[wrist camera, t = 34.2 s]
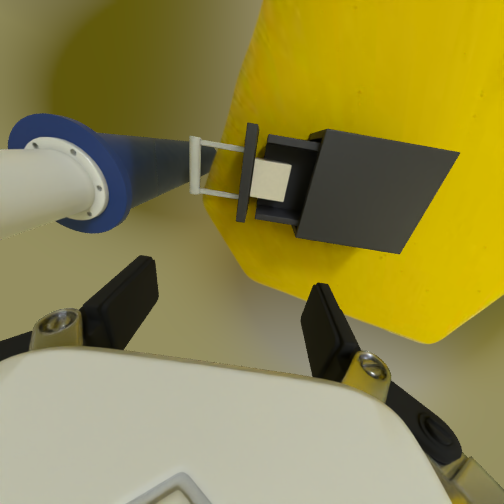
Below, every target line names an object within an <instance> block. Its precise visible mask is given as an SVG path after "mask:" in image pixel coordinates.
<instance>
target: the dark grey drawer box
mask: <svg viewBox="0 0 504 504" xmlns="http://www.w3.org/2000/svg"><path fill="white" fill-rule="evenodd" d="M308 141H311V142H317V143H321V145H320V148H319V152H318V155H317V159H316V162H315V166H314V170H313V173H312V177H311V180H310V184H309V187H308V191H307V194H306V198H305V201H304V205H303V209H302V212H301V216H300V219H299V223H298V226H295V225H291V226H292V229H293V231H294V234H295V237H296V238H302V239H308V240H314V241H320V242H327V243H333V244H339V245H345V246H352V247H358V248H364V249H370V250H376V251H383V252H389V253H395V254H400V253H401V251H402V250H403V248H404V246H405V245H406V243H407V241H408V240H409V238H410V236H411V235H412V233H413V231H414V230H415V228H416V226H417V225H418V223H419V221H420V220H421V218H422V216H423V214H424V213H425V211H426V209H427V208H428V206H429V204H430V203H431V201H432V199H433V198H434V196H435V194H436V193H437V191H438V189H439V188H440V186H441V184H442V183H443V181H444V179H445V178H446V176H447V174H448V173H449V171H450V169H451V168H452V166H453V164H454V163H455V161H456V159H457V158H458V156H459V154H460V152H455V151H449V150H444V149H438V148H432V147H427V146H421V145H415V144H410V143H404V142H399V141H393V140H387V139H382V138H376V137H370V136H365V135H359V134H354V133H348V132H342V131H337V130H331V129H325V130H322V131H318V132H315V133H312V134H310V137H309V140H308Z"/></svg>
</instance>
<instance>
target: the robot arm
mask: <svg viewBox="0 0 504 504" xmlns="http://www.w3.org/2000/svg"><path fill="white" fill-rule="evenodd" d="M108 201H109V191H108V185H107V182H106V179H105V177H104V175H103V173H102V171H101V170H100V168H99V167H98V165H97V164H96V162H95V161H94V160H93V159H92V158H91V157H90V156H89V155H88V154H87V153H86V152H85V151H83V150H82V149H81V148H79V147H78V146H76V145H75V144H73V143H71V142H69V141H66V140H64V139H60V138H55V137H39V138H36V139H33V140H32V141H30V142H29V143H28V144H27V145H26V147H25V148H24V149H0V240H2V239H5V238H8V237H11V236H14V235H17V234H20V233H22V232H25V231H28V230H31V229H33V228H37V227H40V226H42V225H45V224H48V223H51V222H54V221H57V220H59V219H62V218H65V217H68V218H71V219H75V220H89V219H92V218H94V217H97V216H99V215H100V214H101V213H102V212H103V211H104V210H105V209H106V207H107V204H108ZM158 294H159V293H158V284H157V274H156V265H155V260H153V259H152V257H149V256H142V255H140V256H138V257H137V258H136V259H135V260H134V261H133V262H132V263H130V264H129V265H128V266H127V267H126V268H125V269H124V270H122V271H121V272H120V273H119V274H118V275H117V276H115V277H114V278H113V279H112V280H111V281H110V282H109V283H108V284H106V285H105V286H104V287H103V288H102V289H101V290H99V291H98V292H97V293H96V294H95V295H94V296H92V297H91V298H90V299H89V300H88V301H87V302H86V303H84V304H83V307H81V308H80V309H79V310H78V309H74V308H65V309H60V310H57V311H54V312H51V313H49V314H47V315H45V316H44V317H43V318H41V319H39V320H38V322H37V323H36V324H35V326H34V327H33V331H30V332H27V333H24V334H21V335H18V336H15V337H12V338H9V339H6V340H3V341H0V504H504V489H503V488H502V487H501V486H500V485H499V484H498V483H497V482H496V481H495V480H494V479H493V478H492V477H491V476H490V475H489V474H488V473H487V472H486V471H485V470H484V469H483V468H482V467H481V466H480V465H479V464H478V463H477V462H476V461H475V460H474V459H473V458H472V457H469V458H468V457H467V456H466V455H464V453H463V452H462V449H461V446H460V443H459V441H458V439H457V437H456V435H455V434H454V432H453V431H452V430H451V429H450V428H449V426H448V425H447V424H446V423H445V422H444V421H443V420H441V419H440V418H439V417H438V416H437V415H435V414H434V413H433V412H431V411H430V410H429V409H428V408H426V407H425V406H423V405H422V404H421V403H420V402H419V401H417V400H416V399H415V398H413V397H412V396H411V395H409V394H408V393H407V392H406V391H404V390H403V389H402V388H400V387H399V386H398V385H396V384H395V383H394V382H392V381H391V373H390V370H389V368H388V367H387V365H386V364H385V363H384V362H383V361H382V360H381V359H380V358H379V357H377V356H376V355H374V354H373V353H371V352H368V351H361V349H360V347H359V345H358V343H357V341H356V339H355V336H354V335H353V332H352V330H351V328H350V326H349V324H348V322H347V320H346V318H345V316H344V314H343V312H342V310H341V309H340V308H339V306H338V304H337V302H336V300H335V298H334V295H333V293H332V291H331V289H330V287H329V285H328V284H324V283H317V284H316V285H313V287H312V290H311V292H310V295H309V298H308V300H307V303H306V305H305V308H304V311H303V313H302V316H301V326H302V330H303V335H304V339H305V343H306V349H307V353H308V358H309V363H310V367H311V371H312V376H313V377H309V376H303V375H297V374H291V373H284V372H277V371H270V370H264V369H257V368H250V367H243V366H236V365H228V364H221V363H215V362H208V361H201V360H193V359H186V358H179V357H172V356H164V355H156V354H149V353H141V352H135V351H127V350H124V348H125V347H126V345H127V344H128V343H129V341H130V340H131V338H132V337H133V335H134V334H135V332H136V331H137V329H138V328H139V327H140V325H141V324H142V322H143V321H144V319H145V318H146V316H147V315H148V314H149V312H150V311H151V309H152V307H153V306H154V305H155V304H156V302H157V300H158V297H159V295H158Z"/></svg>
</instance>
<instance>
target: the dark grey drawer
mask: <svg viewBox="0 0 504 504" xmlns="http://www.w3.org/2000/svg"><path fill="white" fill-rule="evenodd" d="M258 135H259V126H258V124H253V123H247V131H246V139H245V147H241V146H235V145H229V144H224V143H218V142H212V141H206V140H201V138H199V137H194V136H190V193H191V194H200V193H203V194H209V195H215V196H221V197H227V198H233V199H238V208H237V216H236V221H237V222H243V223H244V222H245V219H246V215H247V211H248V204H249V197H250V190H251V183H252V177H253V170H254V163H255V156H256V149H257V142H258ZM201 145H203V146H209V147H215V148H221V149H227V150H233V151H238V152H244V156H243V165H242V173H241V182H240V190H239V194H234V193H227V192H221V191H215V190H209V189H203V188H200V167H201ZM320 145H321V143H317V142H311V141H305V140H300V139H294V138H288V137H282V136H277V135H271V134H269V135H268V138H267V144H266V150H265V156H264V159H268V160H274V161H279V162H285V163H288V164H290V165H292V166H291V171H290V175H289V179H288V184H287V188H286V192H285V197H284V201H283V202H280V201H274V200H268V199H262V198H258V199H257V205H256V213H255V219H259V220H265V221H271V222H277V223H283V224H289V225H295V226H298V223H299V219H300V216H301V212H302V209H303V205H304V201H305V198H306V194H307V191H308V187H309V184H310V180H311V177H312V173H313V170H314V166H315V162H316V159H317V155H318V152H319V148H320Z"/></svg>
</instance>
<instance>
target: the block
mask: <svg viewBox="0 0 504 504" xmlns="http://www.w3.org/2000/svg"><path fill="white" fill-rule="evenodd" d="M291 166H292V165H290V164H288V163H285V162H279V161H274V160H268V159H262V158H256V159H255V163H254V170H253V177H252V184H251V191H250V197H256V198H262V199H268V200H274V201H280V202H283V201H284V197H285V192H286V188H287V184H288V179H289V175H290V171H291Z"/></svg>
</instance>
